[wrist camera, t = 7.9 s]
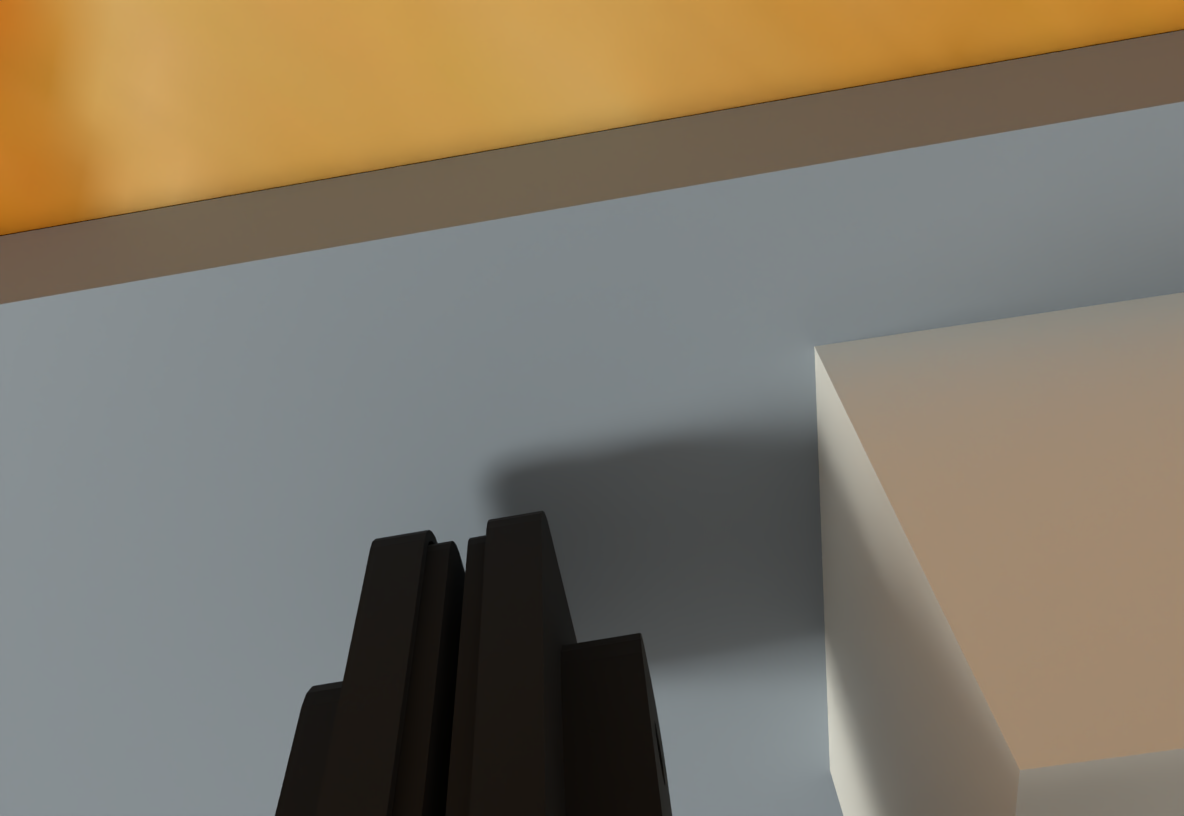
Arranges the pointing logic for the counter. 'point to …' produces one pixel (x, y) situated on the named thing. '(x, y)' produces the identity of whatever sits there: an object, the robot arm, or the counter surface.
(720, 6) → the counter surface
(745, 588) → the board
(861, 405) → the cream block
